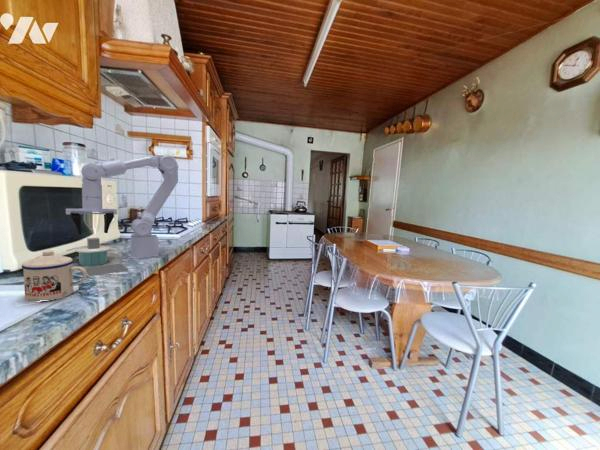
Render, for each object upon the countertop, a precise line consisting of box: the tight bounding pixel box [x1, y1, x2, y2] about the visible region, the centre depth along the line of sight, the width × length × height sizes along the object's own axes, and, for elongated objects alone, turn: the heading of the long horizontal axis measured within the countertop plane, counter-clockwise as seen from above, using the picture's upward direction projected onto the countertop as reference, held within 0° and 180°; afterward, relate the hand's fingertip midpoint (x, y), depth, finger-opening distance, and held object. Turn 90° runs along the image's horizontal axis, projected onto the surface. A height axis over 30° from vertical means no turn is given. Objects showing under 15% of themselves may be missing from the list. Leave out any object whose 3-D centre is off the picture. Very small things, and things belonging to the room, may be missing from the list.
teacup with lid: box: [21, 249, 88, 302], centre depth 63 cm, size 12×9×12 cm
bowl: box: [78, 251, 108, 267], centre depth 90 cm, size 8×8×5 cm
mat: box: [84, 263, 130, 277], centre depth 85 cm, size 10×10×1 cm
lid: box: [74, 237, 112, 254], centre depth 90 cm, size 10×10×4 cm
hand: (93, 233), depth 93 cm, fingers open, 7 cm apart
